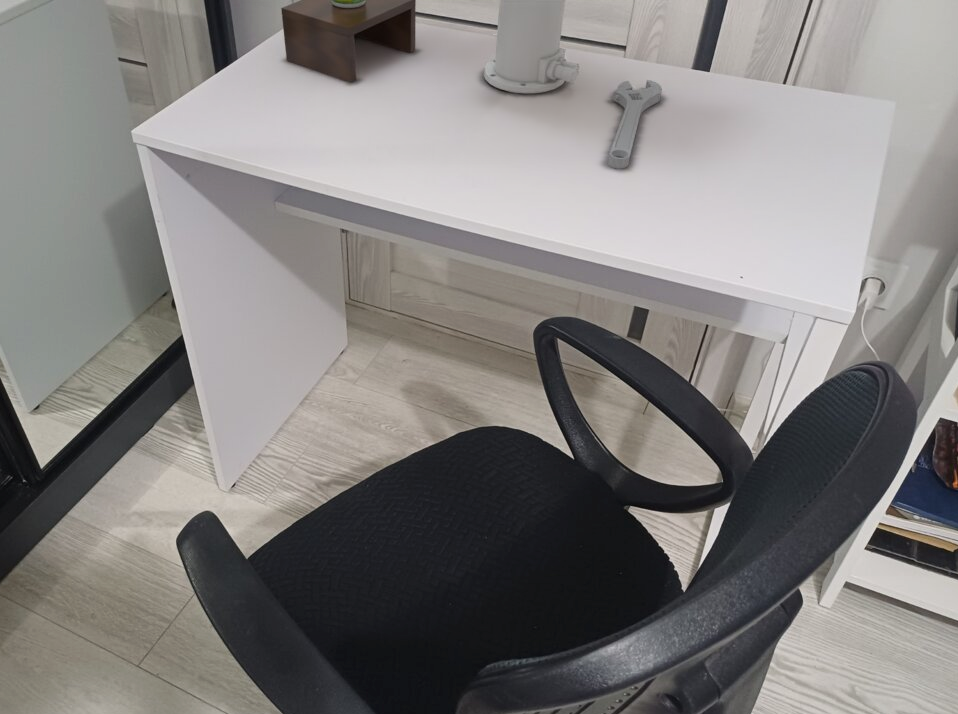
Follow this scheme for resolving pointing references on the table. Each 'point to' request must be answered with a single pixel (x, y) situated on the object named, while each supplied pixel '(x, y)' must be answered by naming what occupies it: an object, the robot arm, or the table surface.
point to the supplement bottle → (348, 3)
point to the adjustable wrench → (630, 118)
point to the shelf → (344, 32)
